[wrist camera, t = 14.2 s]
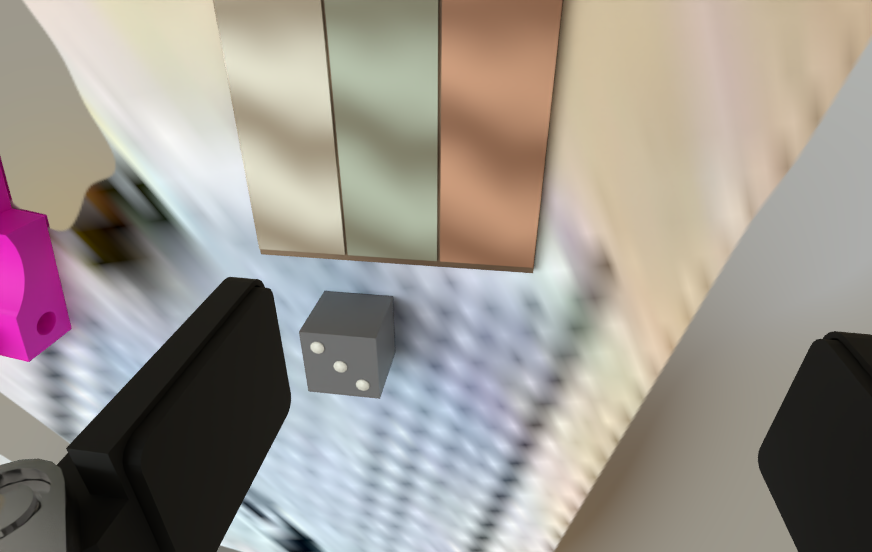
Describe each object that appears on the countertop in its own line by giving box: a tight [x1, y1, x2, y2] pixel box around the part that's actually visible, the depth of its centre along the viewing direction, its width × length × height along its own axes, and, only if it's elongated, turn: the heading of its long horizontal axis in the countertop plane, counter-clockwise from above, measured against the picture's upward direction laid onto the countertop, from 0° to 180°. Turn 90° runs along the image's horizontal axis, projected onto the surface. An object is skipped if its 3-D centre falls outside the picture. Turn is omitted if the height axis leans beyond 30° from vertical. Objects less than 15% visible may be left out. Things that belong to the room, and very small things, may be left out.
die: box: [299, 291, 395, 399], centre depth 36 cm, size 5×5×5 cm
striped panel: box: [213, 0, 563, 273], centre depth 31 cm, size 17×18×1 cm
